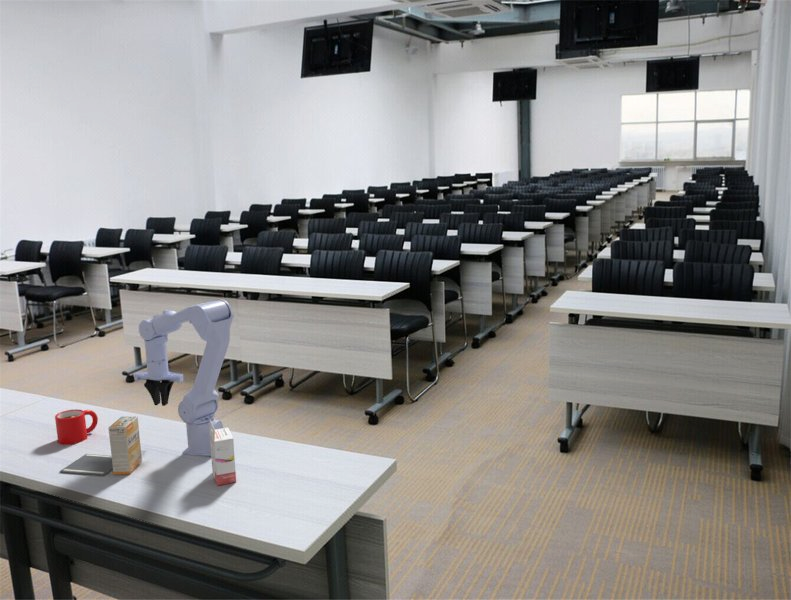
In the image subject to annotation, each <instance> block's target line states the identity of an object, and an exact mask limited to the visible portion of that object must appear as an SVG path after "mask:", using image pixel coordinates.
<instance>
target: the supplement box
mask: <svg viewBox="0 0 791 600" xmlns="http://www.w3.org/2000/svg"><path fill="white" fill-rule="evenodd" d="M139 426H140V425H139V416H136V415H135V416H133V415H131V416H129V415H127V416H120V417H119V418H118V419H117V420H116V421H114V423H112V424H111V425H109V427H108V435H109V444H110V454H111V455H110V456H112V465H113V470H112V471H113V473H112V474H113V475H131V474H132V473H133V471H134V470H136V468H137V467H138V466H139V465H140V464H141V463H142V462H143V460H142V448H141V447H142V446H141V438H140V430H139V429H140V427H139Z"/></svg>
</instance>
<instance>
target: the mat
mask: <svg viewBox="0 0 791 600" xmlns="http://www.w3.org/2000/svg"><path fill="white" fill-rule="evenodd" d="M112 471H113V465H112V456H111V455H107V454H106V455H105V454H96V453H95V454H93V453H92V454H91V453H85V454H84V455H82V456H80V457H79V458H78V459H76V460H74V461H73V462H71V463H70V464H68V465H67V466H65V467H63V468H62V469H61V470H59V473H60V474H71V475H72V474H73V475H86V476H99V477H105V476H106V475H108V474H109V473H110V472H112Z"/></svg>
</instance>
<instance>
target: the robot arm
mask: <svg viewBox="0 0 791 600" xmlns="http://www.w3.org/2000/svg"><path fill="white" fill-rule="evenodd" d="M234 316H235V315H234V312H233V310H232V307H231V306H230V304H229V302H228V301H227V300H225V299H217V300H213V301H207V302H203V303H197V304H194V305H190V306H187V307H185V308H183V309H181V310H179V311H175V310H170V309H165V310H163V311H162V314H160V315H159V314H155V315H153V316H152V318H149V319H143V320H142V321H141V322H140V323H139V324H138V333H139V335H140V337H141V338H142V340H144V349H145V359H146V369H147V370H146V371H137V372H134V373H133V377H134V378H133V379H134V381H145V383H143V384H144V385H143V386H144V388H145V389H146V390H147V392H148V393H149V395H150V397H151V399H152V402H153V405H154V406H158V405H159V404H161V406H162V407H165V406H166V405H169V399H170V394H171V389H172V387H173V385H174V383H175V382H177V383H182V382H184V374H183V373H177V372H171V371H169V361H168V360H169V359H168V349H167V343H168V335H169V334H171V333H175V332H176V331H179V330H180V328H182V324H184V323H187V322H188V323H189V324H191V325H192V326H193V328H194V329H195V331H196V332H197V334H198V336H199V337H200V339H201V340H202V341H205V342H206V344H205V347H204V350H203V354H202V357H201V360H200V364H199V367H198V370H197V373H196V377H195V381H194V383H193V387H192V388H191V389H190V390H189V391H188V392H186V393H185V395H184V396H183V399H182V401H180V402H179V404H178V406H177V414H178V416H179V418H180V419H181V420H182V422H183V423H185V427H186V438H187V448H186V449H184V450H183V451H182V452H181V453H182V455H190V456H191V455H192V456H205V457H211V446H210V420H211V422H212V424H213V427H214V429H215V430H216V429H222V428H224V424H223V422H222V420H219V419H215V415H216V414H215V413H217V411H218V410H219V399H220V395H219V392H217V390H215V388H216V386H217V385H216V384H217V382H218V379H219V375H220V372H221V368H222V366H223V363H224V360H225V357H226V353H227V350H228V347H229V344H230V338H231V337H230V336H231V335H230V334H231V332H230V331H231V326H232V324H233V319H234Z"/></svg>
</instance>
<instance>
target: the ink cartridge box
mask: <svg viewBox="0 0 791 600" xmlns="http://www.w3.org/2000/svg"><path fill="white" fill-rule="evenodd" d="M234 442H235V441H234V437H233V435H232V433H231V430H230V429H229V427H223V428H222V429H216V430H215V429H214V427H213V424H212V422H211V420H210V446H211V456H210V458H211V469H212V475H213V477H214V479H215V482H216V484H217V486H222V485H226V484H232V483H236V482H237V473H236V461H235V460H236V459H235V445H234Z"/></svg>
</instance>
